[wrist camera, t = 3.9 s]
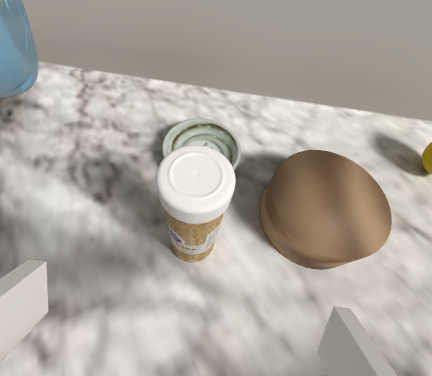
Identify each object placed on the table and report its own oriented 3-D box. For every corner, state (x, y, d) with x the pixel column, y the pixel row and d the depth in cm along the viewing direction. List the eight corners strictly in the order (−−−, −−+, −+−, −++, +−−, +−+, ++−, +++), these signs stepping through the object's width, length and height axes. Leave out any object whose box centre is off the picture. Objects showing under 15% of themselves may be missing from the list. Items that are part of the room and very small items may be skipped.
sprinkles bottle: (162, 247, 24) (136, 181, 12) (188, 213, 26) (186, 130, 14) (199, 272, 23) (208, 228, 11) (222, 235, 25) (251, 166, 13)
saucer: (206, 206, 27) (207, 197, 25) (147, 160, 29) (144, 148, 27) (251, 156, 31) (256, 145, 29) (197, 119, 33) (198, 106, 31)
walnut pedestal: (257, 260, 24) (272, 248, 20) (260, 167, 30) (272, 142, 26) (368, 277, 24) (406, 268, 20) (349, 181, 30) (376, 159, 26)
